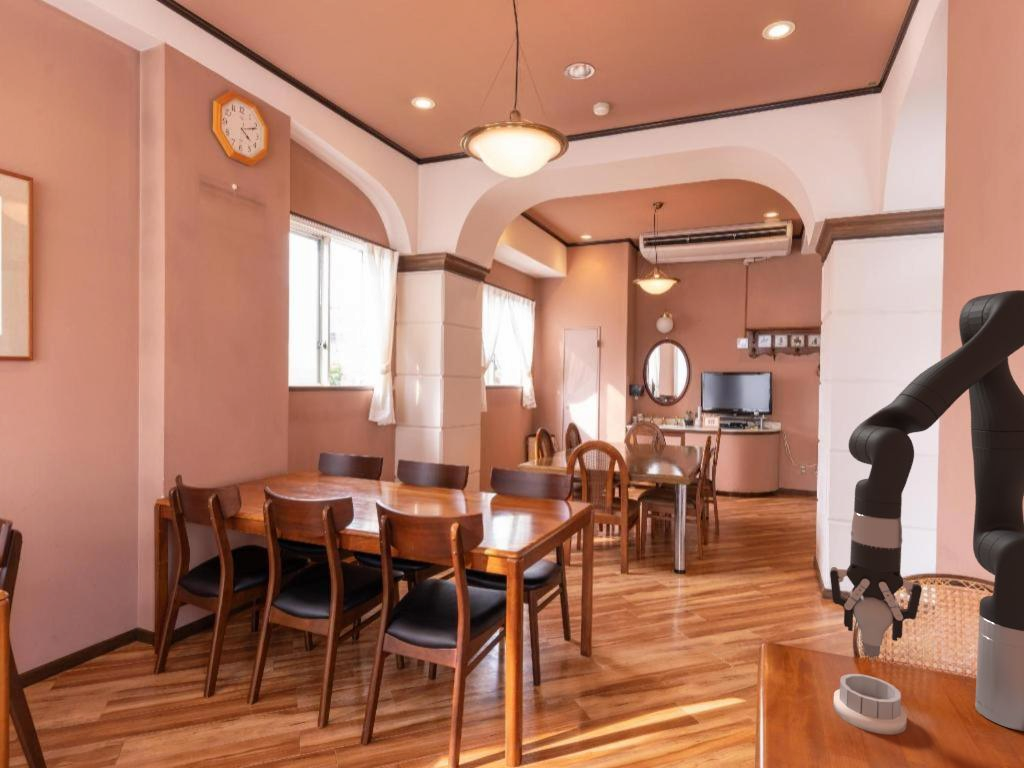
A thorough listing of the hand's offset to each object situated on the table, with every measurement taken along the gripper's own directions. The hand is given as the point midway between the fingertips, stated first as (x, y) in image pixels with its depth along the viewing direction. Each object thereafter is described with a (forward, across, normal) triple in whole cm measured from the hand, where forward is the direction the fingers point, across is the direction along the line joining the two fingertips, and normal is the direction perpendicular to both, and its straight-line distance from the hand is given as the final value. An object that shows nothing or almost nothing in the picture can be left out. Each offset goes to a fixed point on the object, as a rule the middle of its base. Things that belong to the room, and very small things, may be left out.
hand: (871, 633), depth 103 cm
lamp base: (+15, 0, 0) cm, 15 cm away
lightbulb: (+4, 0, 0) cm, 4 cm away
